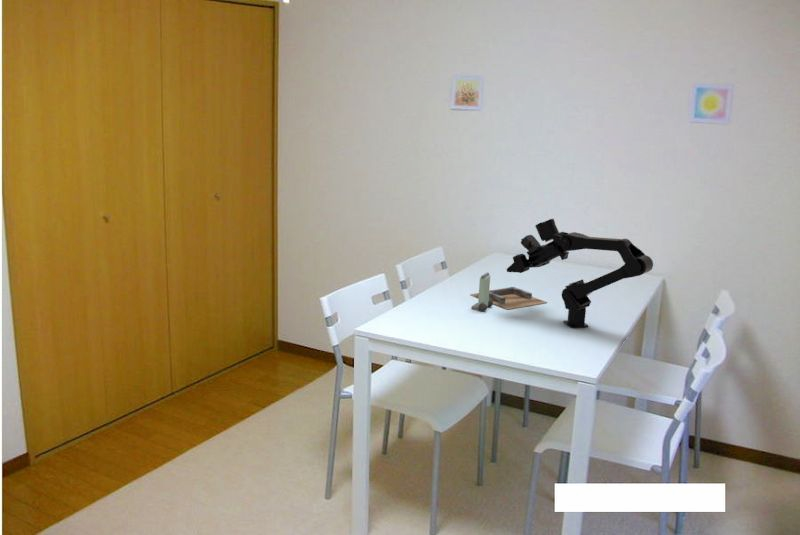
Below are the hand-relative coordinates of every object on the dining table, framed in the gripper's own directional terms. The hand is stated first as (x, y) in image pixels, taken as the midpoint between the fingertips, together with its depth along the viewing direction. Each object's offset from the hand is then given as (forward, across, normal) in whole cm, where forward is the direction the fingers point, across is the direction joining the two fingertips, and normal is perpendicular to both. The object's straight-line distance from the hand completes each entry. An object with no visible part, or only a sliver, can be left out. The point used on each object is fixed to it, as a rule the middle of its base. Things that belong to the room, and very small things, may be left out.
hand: (513, 268), depth 250 cm
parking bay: (+14, -10, +9) cm, 19 cm away
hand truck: (+14, +8, +9) cm, 19 cm away
